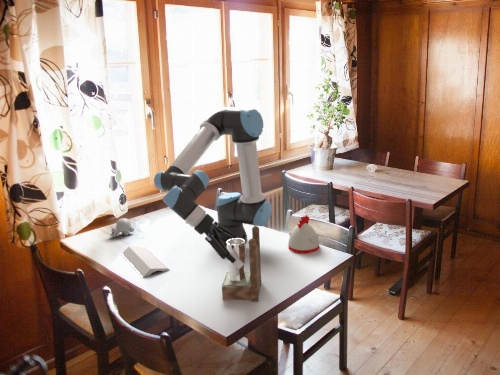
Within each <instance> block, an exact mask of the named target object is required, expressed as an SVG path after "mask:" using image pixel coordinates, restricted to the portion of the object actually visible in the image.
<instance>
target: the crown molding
mask: <svg viewBox="0 0 500 375" xmlns="http://www.w3.org/2000/svg"><path fill="white" fill-rule="evenodd" d="M122 253H123V254H124V256H125V257H126V258H127V259H128V260H129V262H131V263H132V264H133V265H134V267H135V268H136V269H137V270H138V271H139V272H140V274H141V275H142V276H143V277H144V278H146V277H147V276H148V277H149V276H151V275H152V273H155V272H157V271H158V272H159V271H161V272H163V273H164V271H165V272H169V271H170V270H171V269H170V268H169V267H168V266H166V265H165V263H163V262H162V261H161V260H160V259H159V258H158V257H157V256H156V255H155V254H154V253H152V251H150V250H149V249H148V248H147V247H146V246H143V245H141V246H135V245H134V246H133V245H132V246H130V245H129V246H127V247H126V248H125V250H124V251H123V252H122ZM154 255H155V256H154ZM145 276H146V277H145Z"/></svg>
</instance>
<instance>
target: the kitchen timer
mask: <svg viewBox="0 0 500 375" xmlns="http://www.w3.org/2000/svg"><path fill="white" fill-rule="evenodd" d="M309 221H310V216H308V215H307V214H306V215H303V216H301V217H300V220H299V223H297V225H295V227H294V228H293V229H292V231H290V232H289V239H288V245H287V246H288V250H289V251H290V252H292V253H295V254H301V253H302V254H301V255H303V254H312V253H313V254H314V253H315V252H317V251H318V250H319V248H320V241H319V235H318V234H317V232H316V230H315V228H313V227H312V225H310V224H309Z"/></svg>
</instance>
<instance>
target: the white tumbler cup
mask: <svg viewBox="0 0 500 375" xmlns="http://www.w3.org/2000/svg"><path fill="white" fill-rule="evenodd" d="M226 248H227V249H228V251H229V252H232V253H233V254H234V255H235V256H236V257H237V258H238V259H240V260H241V261H242V262H243V263H244V265H243V266H242V267H241V268H240V269H238V268H237V267H236V266H235V265H233V264H232V263H231V262H230V261H229V260H228V259H227V261H228V266H229V272H230V280H231V281H233V282H241V281H244V280H245V279H246V276H245V272H246V271H245V264H246V258H247V257H246V254H247V252H246V250H245V248H246V242H245V241H244V240H243V239H241V238H233V239H229V240H228V241H227V246H226Z"/></svg>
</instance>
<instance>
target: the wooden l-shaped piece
mask: <svg viewBox="0 0 500 375" xmlns="http://www.w3.org/2000/svg"><path fill="white" fill-rule="evenodd" d="M259 227H260V226H254V225H253V226H252V228H251V232H252V238H250V239H249V240H248V253H249V254H248V256H249V272H246V271H244V272H245V276H246V279H245V280H244V281H241V282H233V281H231V280H230V271H226V274H225V277H224V279H223V283H222V286H221V292H222V295H221V296H222V300H236V301H237V300H243V301H245V300H246V301H251V302H256V303H257V302H259V299H260V298H259V297H260V296H259V294H260V288H261V286H262V269H261V268H262V266H261V245H260V244H261V243H260V241H261V240H260V228H259Z"/></svg>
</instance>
